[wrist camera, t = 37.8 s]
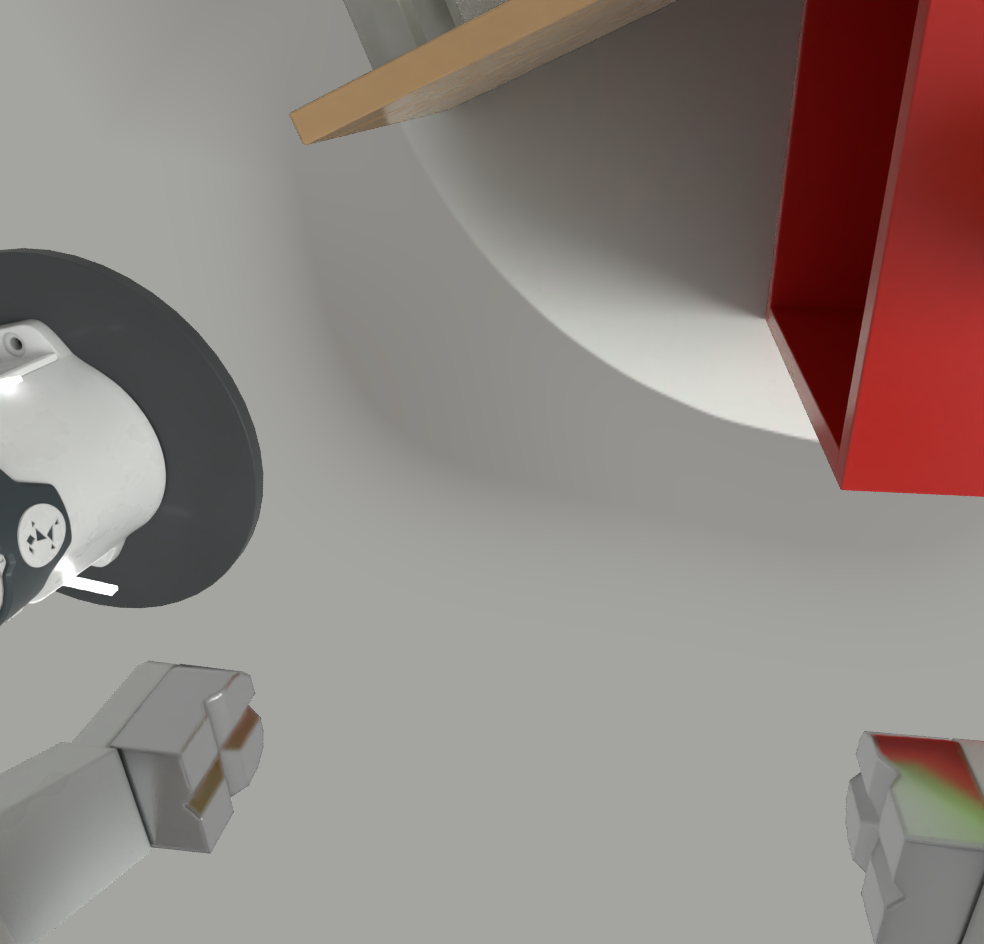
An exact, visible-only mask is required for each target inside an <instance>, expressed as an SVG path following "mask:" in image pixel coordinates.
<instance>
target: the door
mask: <svg viewBox="0 0 984 944" xmlns="http://www.w3.org/2000/svg"><path fill="white" fill-rule="evenodd" d="M343 1H344V3H345V5H346V8H347V10H348V12H349V15H350V17H351V19H352V22H353V24H354V26H355V29H356V31H357V33H358V36H359V38H360V40H361V42H362V45H363V47H364V49H365V52H366V54H367V56H368V59H369V61H370V63H371V66H372V68H373V70H372V71H370V72H368V73H366V74H364V75H363V76H360V77H359V78H357V79H355V80H353V81H351V82H349V83H347V84H345V85H343V86H341V87H339V88H338V89H335V90H333V91H331V92H329V93H327V94H326V95H324V96H322V97H320V98H318V99H316V100H314V101H312V102H310V103H308V104H306V105H304V106H302V107H300V108H298V109H296V110H294V111H292V112H291V113H290V114H289V115H290V117H291V120H292V122H293V124H294V126H295V128H296V130H297V132H298V134H299V136H300V139H301V140H302V143H303V144H304V145H308V144H312V143H316V142H320V141H324V140H329V139H333V138H337V137H341V136H345V135H349V134H353V133H357V132H361V131H365V130H369V129H374V128H378V127H382V126H386V125H390V124H394V123H399V122H403V121H407V120H411V119H415V118H419V117H423V116H427V115H432V114H436V113H440V112H444V111H448V110H450V109H452V108H454V107H456V106H458V105H460V104H462V103H464V102H466V101H468V100H470V99H473V98H475V97H477V96H479V95H481V94H483V93H485V92H487V91H489V90H491V89H493V88H496V87H498V86H500V85H502V84H504V83H506V82H508V81H510V80H512V79H514V78H516V77H519V76H521V75H523V74H525V73H527V72H529V71H531V70H533V69H535V68H537V67H539V66H542V65H544V64H546V63H548V62H550V61H552V60H554V59H556V58H558V57H560V56H562V55H565V54H567V53H569V52H571V51H573V50H575V49H577V48H579V47H581V46H583V45H585V44H587V43H590V42H592V41H594V40H596V39H598V38H600V37H602V36H604V35H606V34H608V33H610V32H613V31H615V30H617V29H619V28H621V27H623V26H625V25H627V24H629V23H631V22H633V21H636V20H638V19H640V18H642V17H644V16H646V15H648V14H650V13H652V12H654V11H656V10H659V9H661V8H663V7H665V6H667V5H669V4H671V3H673V2H675V1H677V0H508V1H506V2H504V3H502V4H500V5H498V6H496V7H494V8H493V9H491V10H489V11H487V12H485V13H483V14H481V15H479V16H477V17H475V18H473V19H471V20H469V21H467V22H465V23H463V20H462V18H461V15H460V12H459V10H458V7H457V4H456V2H455V0H343Z"/></svg>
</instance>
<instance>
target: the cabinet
mask: <svg viewBox="0 0 984 944" xmlns="http://www.w3.org/2000/svg"><path fill="white" fill-rule="evenodd" d="M765 320H766V322H767V324H768V327H769V329H770V331H771V333H772V336H773V338H774V340H775V342H776V345H777V347H778V349H779V351H780V354H781V356H782V358H783V360H784V363H785V365H786V367H787V369H788V372H789V374H790V376H791V378H792V381H793V383H794V385H795V388H796V390H797V392H798V394H799V397H800V399H801V401H802V403H803V406H804V408H805V410H806V412H807V415H808V417H809V419H810V421H811V424H812V426H813V428H814V430H815V433H816V435H817V437H818V439H819V442H820V444H821V446H822V448H823V450H824V453H825V455H826V457H827V460H828V462H829V464H830V466H831V469H832V471H833V473H834V475H835V477H836V480H837V482H838V484H839V487H840V489H841V490H853V491H873V492H895V493H916V494H937V495H959V496H981V497H984V0H804V3H803V11H802V19H801V27H800V36H799V44H798V52H797V61H796V69H795V77H794V86H793V94H792V102H791V110H790V119H789V127H788V135H787V144H786V152H785V160H784V169H783V177H782V185H781V194H780V202H779V210H778V218H777V227H776V235H775V243H774V252H773V260H772V268H771V277H770V285H769V293H768V302H767V310H766V318H765Z"/></svg>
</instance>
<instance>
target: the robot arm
mask: <svg viewBox="0 0 984 944" xmlns="http://www.w3.org/2000/svg"><path fill="white" fill-rule="evenodd" d="M18 339H19V340H20V341H21V343H22V345H21V344H20V343H19V341H18ZM165 483H166V470H165V462H164V457H163V453H162V449H161V446H160V443H159V441H158V438H157V436H156V434H155V432H154V430H153V428H152V426H151V424H150V422H149V421H148V419H147V418H146V416H145V415H144V413H143V412H142V410H141V409H140V408H139V406H138V405H137V404H136V403H135V402H134V400H133V399H132V398H131V397H130V396H129V395H128V394H127V393H126V392H125V391H124V390H123V389H122V388H121V387H120V386H119V385H117V384H116V383H115V382H114V381H113V380H111V379H110V378H109V377H107V376H106V375H104V374H103V373H102V372H100V371H98V370H97V369H95V368H93V367H92V366H90V365H89V364H87V363H85V362H84V361H82V360H81V359H79V358H78V357H77V356H75V355H74V354H73V353H72V352H71V351H70V349H69V348H68V347H67V346H66V345H65V344H64V343H63V341H62V340H61V339H60V338H59V337H58V336H57V335H56V334H55V333H54V332H53V331H52V330H51V329H50V328H49V327H48V326H47V325H45V324H44V323H42V322H41V321H38V320H34V319H28V320H23V321H19V322H14V323H10V324H5V325H0V626H1V625H2V624H4V623H6V622H8V620H10V619H12V618H13V617H15V616H16V615H17V614H18V613H20V612H21V611H22V610H23V607H24V606H25V605H26V604H27V603H31V604H32V603H36V602H38V601H41V600H43V599H44V598H46V597H47V596H48V595H50V594H51V593H53V592H54V591H56V590H57V589H58V588H60V587H61V586H63V585H65V586H70V587H74V588H79V589H83V590H88V591H92V592H97V593H102V594H106V595H111V596H112V595H113V594H114V593H115V592H116V591H117V590H118V587H117V586H115V585H111V584H106V583H102V582H97V581H92V580H88V579H83V578H79V577H75V576H77V575H78V574H79V573H81V572H82V571H83V570H85V569H86V568H88V567H89V566H90V565H91V566H95V567H104V566H106V565H108V564H109V563H110V562H112V561H113V560H115V559H116V558H117V557H118V555H119V553H120V551H121V549H122V547H123V545H124V542H125V540H126V538H127V537H128V536H129V535H130V534H131V533H132V532H134V531H135V530H137V529H138V528H140V527H141V526H143V525H144V524H145V523H147V522H148V521H149V520H150V519H151V518H152V516H153V515H154V514H155V512H156V511H157V509H158V508H159V506H160V504H161V501H162V498H163V495H164V490H165ZM254 694H255V691H254V688H253V684H252V680H251V677H250V675H248V674H246V673H244V672H241V671H234V670H225V669H217V668H209V667H201V666H192V665H185V664H179V665H177V664H170V663H162V662H154V661H147V662H145V663H143V664H141V665H138V666H137V667H136V668H135V669H134V671H133V672H132V673H131V674H130V675H129V676H128V678H127V679H126V680H125V681H124V682H123V684H122V685H121V686H120V687H119V688H118V689H117V690H116V692H115V693H114V694H113V695H112V696H111V697H110V699H109V700H108V701H107V702H106V703H105V704H104V706H103V707H102V708H101V709H100V710H99V711H98V713H97V714H96V715H95V716H94V717H93V718H92V720H91V721H90V722H89V723H88V724H87V725H86V727H85V728H84V729H83V730H82V731H81V732H80V734H79V735H78V736H77V737H76V738H75V739H74V741H73V742H72V743H65V742H60V743H59V744H57V745H55V746H53V747H51V748H49V749H47V750H45V751H43V752H42V753H40V754H38V755H36V756H34V757H32V758H30V759H28V760H27V761H24V762H22V763H21V764H19V765H17V766H15V767H13V768H11V769H9V770H7V771H5V772H3V773H1V774H0V944H36V943H37V942H39V941H40V940H41V939H42V938H44V937H45V936H46V935H47V934H49V933H50V932H51V931H52V930H53V929H55V928H56V927H57V926H59V925H60V924H61V923H62V922H64V921H65V920H66V919H67V918H68V917H70V916H71V915H72V914H74V913H75V912H76V911H77V910H79V909H80V908H81V907H82V906H83V905H85V904H86V903H87V902H88V901H90V900H91V899H92V898H94V897H95V896H96V895H97V894H99V893H100V892H101V891H102V890H104V888H106V887H107V886H108V885H110V884H111V883H112V882H114V881H115V880H116V879H117V878H118V877H120V876H121V875H122V874H123V873H125V872H126V871H127V870H128V869H130V868H131V867H132V866H133V865H135V864H136V863H137V862H138V861H140V860H141V859H142V858H143V857H145V856H146V855H147V854H148V853H150V852H151V850H152V849H151V847H155V848H164V849H173V850H182V851H192V852H201V853H211V852H212V850H213V848H214V846H215V845H216V843H217V841H218V839H219V837H220V836H221V834H222V832H223V830H224V829H225V827H226V825H227V823H228V821H229V820H230V818H231V816H232V814H233V813H234V811H233V806H232V801H231V797H232V796H234V795H235V794H237V793H238V792H240V791H241V790H242V789H244V788H245V787H247V786H248V785H249V784H250V782H251V780H252V778H253V776H254V774H255V772H256V770H257V768H258V765H259V761H260V758H261V754H262V750H263V727H262V722H261V717H259V715H258V714H257V713H256V712H255V711H254V710H253V709H252V708H251V707H250V706H249V705H248V704H249V703H250V701H251V699H252V698H253V696H254ZM856 756H857V760H858V763H859V767H860V770H861V773H859V774H858V775H856V776H855V777H854V778H852V779H851V780H850V782H849V787H848V793H847V798H846V828H847V835H848V842H849V846H850V850H851V855H852V859H853V860H854V861H855V862H856V863H857V864H858V865H859V866H860V867H861V868H862V870H863V871H864V872H865V873H866V876H865V880H864V884H863V888H862V892H861V895H862V898H863V902H864V906H865V909H866V914H867V918H868V921H869V925H870V929H871V933H872V937H873V941H874V944H984V741H977V740H965V739H952V740H951V739H948V738H938V737H926V736H916V735H904V734H892V733H881V732H870V731H869V732H868V731H864V733H863V735H862V736H861V738H860V740H859V744H858V748H857V752H856Z"/></svg>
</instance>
